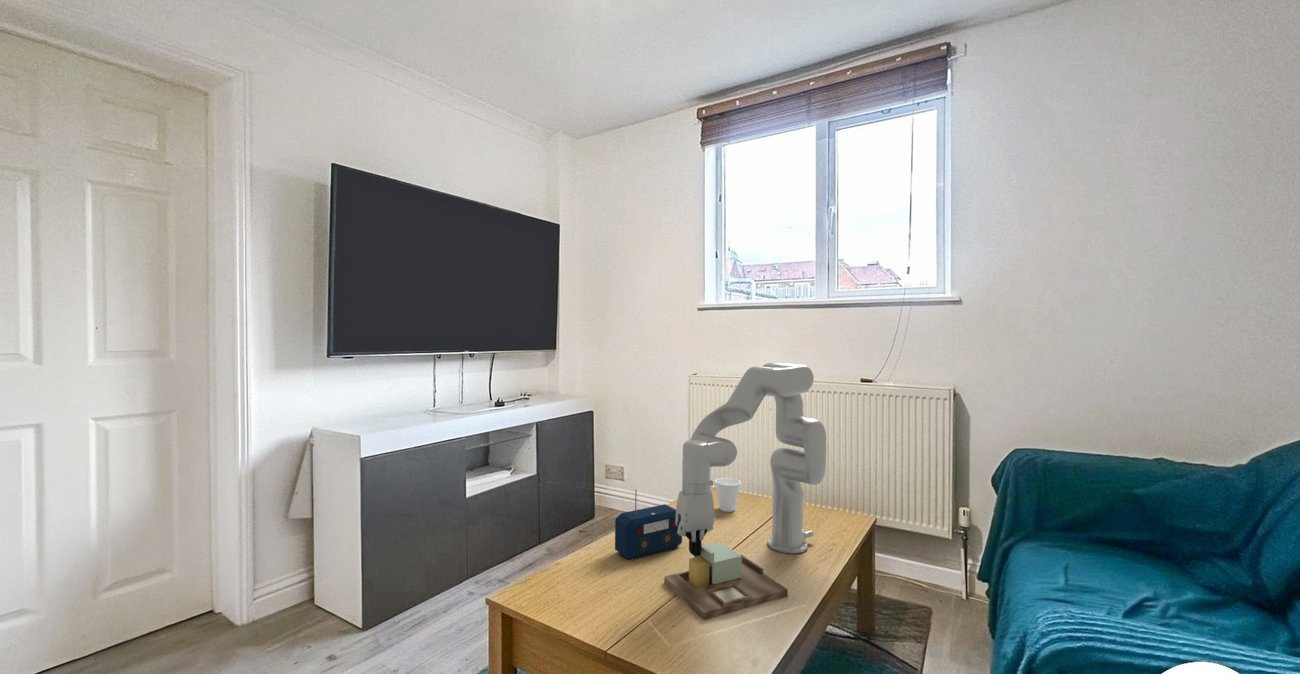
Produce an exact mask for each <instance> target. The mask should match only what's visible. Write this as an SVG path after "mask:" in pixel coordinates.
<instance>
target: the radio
mask: <svg viewBox="0 0 1300 674" xmlns="http://www.w3.org/2000/svg"><path fill="white" fill-rule="evenodd" d="M637 493H638V491H637V488H636V489H635V498H634V504H635V505H634V510H629V511H626V512H622V513H620V514H619V515H618V516H616V517H615V519H614V521H615V522H614V523H615V524H614V550H615V551H617V553H619V554H620V555H622V556H623V557H624V558H626V559H628V560H631V559H633V560H636V559H635V558H637V559H640V558H643V557H647V556H653V555H655V554H659V553H662V552H667V551H671V550H675V549H677V548H678V547H679V546H680V545H681V544H682V543H683V536H679V535H678V534H677V531H678V527H677V526H676V525H675V517H676V509H675V508H673V507H672V506H670V505H667V504H661V505H660V504H659V505H655V506H651V507H650V506H649V507H644V508H640V509H637ZM639 557H640V558H639Z"/></svg>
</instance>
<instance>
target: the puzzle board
mask: <svg viewBox="0 0 1300 674" xmlns="http://www.w3.org/2000/svg"><path fill="white" fill-rule="evenodd" d="M740 555H741V556H742V566H741V578H738V579H734V580H730V581H726V582H722V583H718V584H712V566H710V567H709V586H705V587H701V588H697V589H695V588H694V587H692V586H691V585H690V584H689V570H687V571H682V572H679V573H675V574H670V575H666V576H665V575H664V577H663V578H664V579H663V582H664V585H665V586H667V588H669V589H670V590H671V591H672V592H673V593H674V594H675V595H676V596H677V597H678V598H680V600H681V601H683V602H684V604H686V605H687V606H688V607H689V608H690V609H691V610H692V611H693V612H694V613H696V615H698V617H699V618H701V620H703V621H706V620H711V619H713V618H716V617H717V618H718V617H720V616H724V615H727V614H731V613H734V612H737V611H741V610H745V609H748V608H752V607H754V606H755V607H757V606H758V605H763V604H765V603H766V604H767V603H769V602H773V601H776V600H779V599H783V598H787V597H788V592H789V591H788V590H789V589H788V588H786V587H785V586H784V585H782V584H780V582H777V581H776V580H774V579H773V578H771V577H770V576H769V575H767V574H765V573H764V568H763V567H761V566H760V565H758V564H757V563H755V562H753V561H752V560H751V559H749V558H747V557H746V556H744V555H743V554H740Z"/></svg>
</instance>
